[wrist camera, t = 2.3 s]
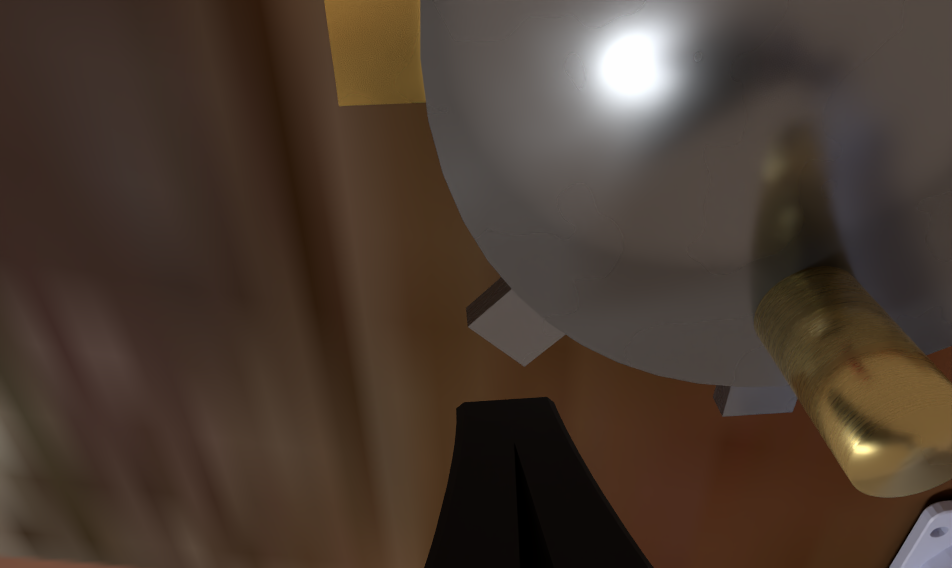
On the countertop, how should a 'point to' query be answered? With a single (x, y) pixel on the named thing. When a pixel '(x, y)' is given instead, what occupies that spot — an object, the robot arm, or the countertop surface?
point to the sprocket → (702, 194)
